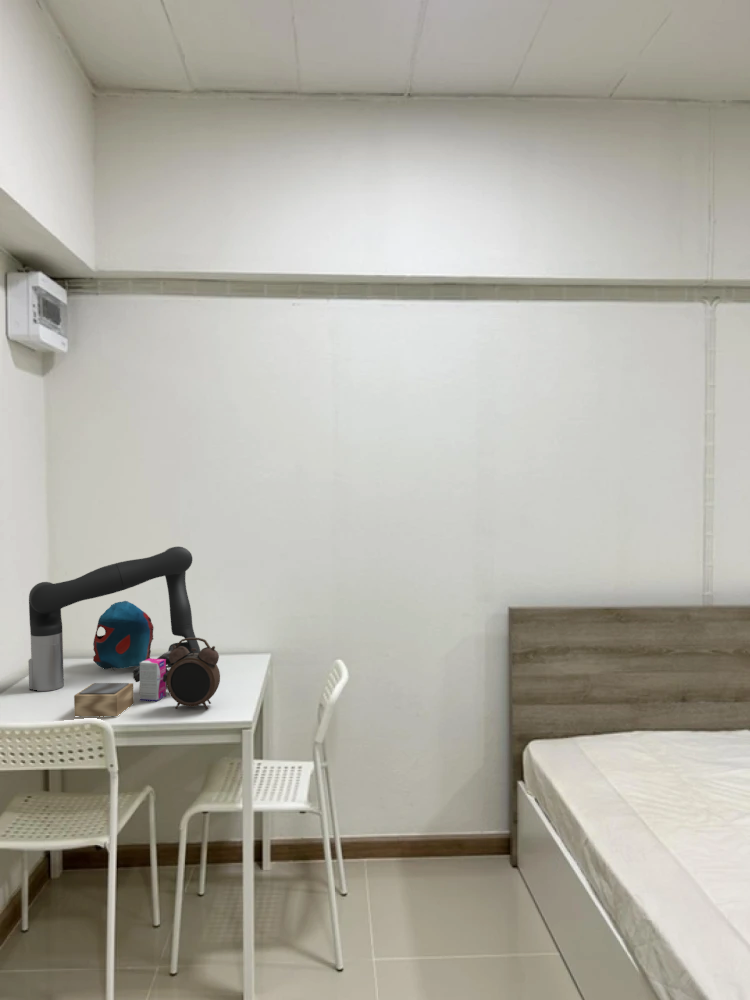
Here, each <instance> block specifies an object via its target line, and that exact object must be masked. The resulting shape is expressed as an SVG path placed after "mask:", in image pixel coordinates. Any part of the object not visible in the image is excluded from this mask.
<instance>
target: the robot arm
mask: <svg viewBox="0 0 750 1000" xmlns="http://www.w3.org/2000/svg"><path fill="white" fill-rule="evenodd" d="M192 564H193V555H192V553H191V552H190V551H189V550H188V549H187V548H185V547H183V546H173V547H168V548H167V549H166V550H164V551H163V552H160V553H157V554H154V555H152V556H148V557H144V558H143V557H142V558H136V559H130V560H125V561H120V562H115V563H111V564H108V565H105V566H102V567H99V568H96V569H94V570H91V571H90V572H88V573H85V574H83V575H81V576H79V577H76V578H73V579H70V580H65V581H62V582H61V581H60V582H55V583H53V582H49V581H42V582H38V583H36V584H35V585H34V586H33V587H32V588H31V590H30V591H29V594H28V609H29V610H28V611H29V613H28V614H29V616H28V617H29V630H30V654H31V655H30V656H31V657H30V658H29V659H28V661H27V662H28V690H29V689H33V690H32V691H34V690H37V691H36V692H48V691H54V690H59V689H61V688H63V687H64V686H65V683H64V681H65V677H64V674H65V673H64V645H63V643H64V641H63V640H64V639H63V635H64V634H63V621H62V619H63V618H62V609H64V608H66V607H68V606H71V605H73V604H76V603H79V602H82V601H85V600H90V599H91V600H92V599H97V598H100V597H105V596H108V595H112V594H116V593H119V592H122V591H124V590H128V589H131V588H134V587H136V586H139V585H142V584H144V583H146V582H148V581H151V580H154V579H157V578H161V577H165V581H166V586H167V593H168V603H169V604H168V605H169V614H170V615H169V616H170V628H171V633H172V635H174V636H176V637H177V636H178V637H183V639H185V638H197V637H196V634H195V631H194V627H193V614H192V608H191V603H190V598H189V595H188V591H187V583H186V575H187V574H186V571H188V570H189V569H190V567H191V565H192ZM178 643H179V642H174V643H172V644H170V645H169V647H168V650H167V651H166V652H164V653H163V654H160V655H159V656H158V657H157V658H156V659H166V673H165V674H164V675H163V682H166V681H167V675H168V672H169V670H170V668H171V667H172V666H173V664H174V663H175V662H176V661H175V662H174V663H172V664H171V663H170V660H169V654H170V651H171V650H173V645H175V646H177V645H178ZM180 646H183V647H185V648H187V649H188V651H189V652H190V653H188V654H191V653H193V651H191V649H192V648H196V651H194V653H199V652H200V651H201V649H200V645H199V642H198V640H186V641H182V642H181V644H180V645H179V647H180ZM188 654H187V655H188ZM132 678H133V679H134V681H135V683H140V666H137V667H136V668H135V669H133V670H132Z"/></svg>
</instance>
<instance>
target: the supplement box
mask: <svg viewBox="0 0 750 1000" xmlns="http://www.w3.org/2000/svg"><path fill="white" fill-rule="evenodd" d="M165 673H166V659H157V658H149V659H147V660H144V661H142V662H140V681H139V701H140V702H151V701H155V702H156V703H157V702H158V701H160V700H162V699H163V698H165V697H166V696H167V693H166V692H167V691H166V690H167V683H166V682H163V675H164V674H165Z"/></svg>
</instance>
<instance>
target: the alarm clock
mask: <svg viewBox="0 0 750 1000" xmlns="http://www.w3.org/2000/svg"><path fill="white" fill-rule="evenodd" d="M186 640H197V641H199V642H203V644H204V645H205V647H204V648H202V649H200V652H199V653H194V651H196V648H192V649H191V651H193V653H191V654H188V653H190V652H189V651H188V649H187V648H185V647H183V646H180V647H179V645H180V644H181V642H187V641H186ZM177 643H178V645H177V646H175V645H173V650H171V651H170V654H169V660H170V663H171V664H172V663H174V662H175V661H176V662H175V663H174V664H173V666H172V667H171V668H170V670H169V672H168V675H167V681H166V690H167V691H168V693H169V695H170V697H171V698H172V699H173V700H174V701H175V702H176V703H177V704H176V706H175V708H174V709H175V710H177V709H178V708H179V707H180V705H182V706H184V707H191V708H193V707H197V706H200V705H203V706H204V708H205V710H206V709H208V710H209V707H208V706H207V703H206V702H208V704H209V705H210V704H212V701H210V699H211V698H212V697H213V696H214V695H215V693H216V692H217V690H218V688H219V686H220V682H221V672H220V669H219V667H218V665H217V664H218V662H219V659H220V655H219V653H218V651H217V650H216V646H215V645H213V646H210V644H209V643H208V642H207V640H206V639H204V638H200V637H196V638H183V639H180V640H179V641H178V642H177ZM187 654H188V655H187Z"/></svg>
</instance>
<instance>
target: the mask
mask: <svg viewBox="0 0 750 1000" xmlns="http://www.w3.org/2000/svg"><path fill="white" fill-rule="evenodd" d="M100 627H101V628H103V629H104V631H105V633H104V634H103V635H98V630H99V629H100ZM154 629H155V627H154V624H153V623H152V619H151V617H150V616H149V615H148V614H147V613H146V612H145V611H143V610H142V609H141V608H140V607H138V606H137V605H135V604H134V603H131V602H129V601H128V600H123V601H119V602H114V603H113V604H110V606H109V607H108V608H107V609H106V610H105V611H104V612H103V613H102V614H101V615H100V617H99V618H98V621H97V625H96V631H95V635H94V638H93V644H92V645H93V651H94V655H93V659H92V660H93V662H94V663H95V664H96V665H97V666H98V667H100V668H101V669H103V668H104V669H103V670H109V669H112V670H114V671H115V669H117V670H120V669H127V668H133V667H139V666H140V662H142V661H144V660H147V659H149V658H150V657H151V652H152V651H151V647H152V646H151V645H152V642H153V640H154Z"/></svg>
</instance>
